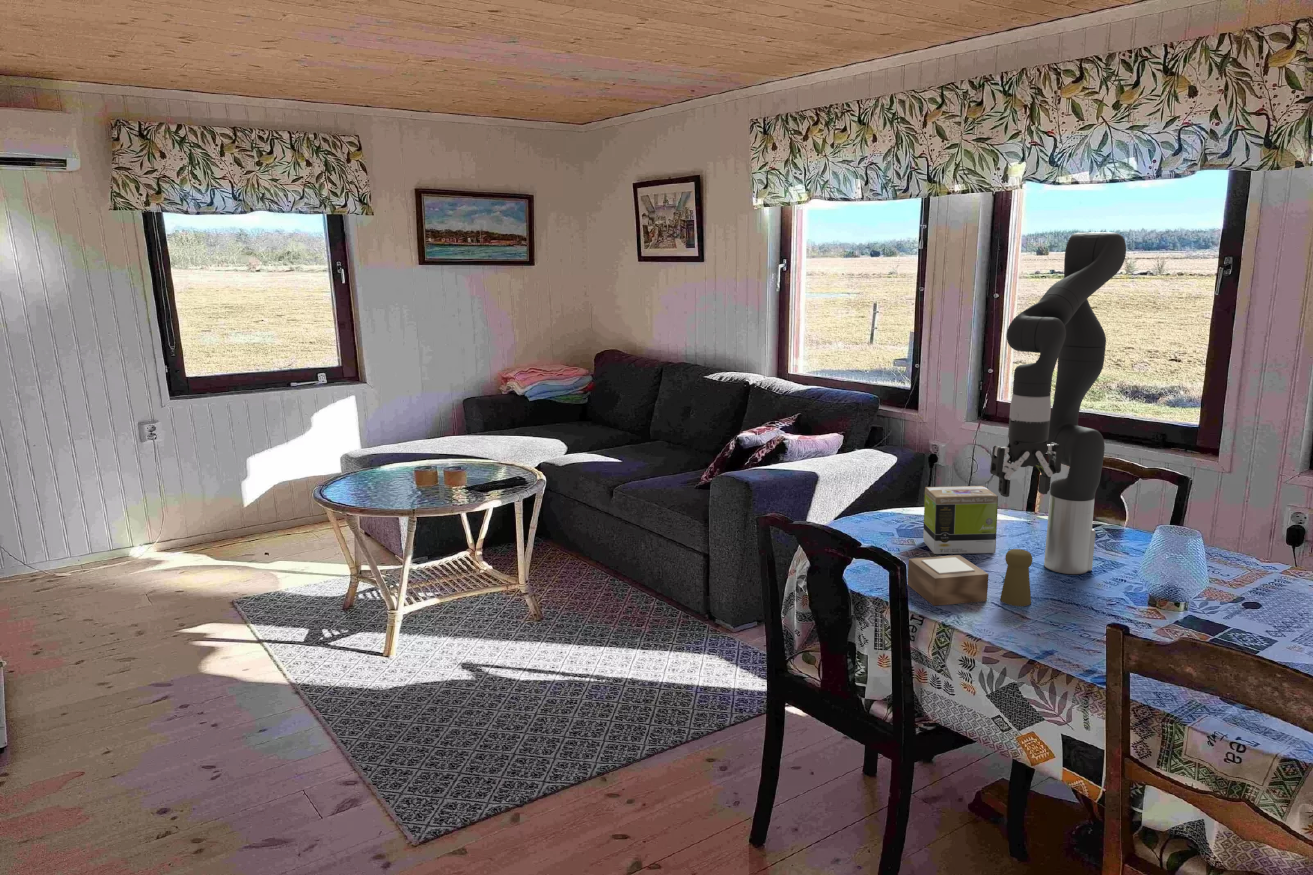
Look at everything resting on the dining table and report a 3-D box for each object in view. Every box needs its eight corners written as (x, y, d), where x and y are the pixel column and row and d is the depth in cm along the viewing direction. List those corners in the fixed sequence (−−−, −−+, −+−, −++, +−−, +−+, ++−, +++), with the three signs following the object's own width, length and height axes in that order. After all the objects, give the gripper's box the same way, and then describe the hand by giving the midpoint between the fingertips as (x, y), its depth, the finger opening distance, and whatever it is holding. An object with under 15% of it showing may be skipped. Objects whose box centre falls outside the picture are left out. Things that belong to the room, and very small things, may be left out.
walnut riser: (957, 580, 195) (959, 553, 194) (986, 601, 184) (988, 572, 182) (907, 584, 193) (908, 557, 192) (933, 605, 182) (935, 577, 180)
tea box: (981, 541, 221) (985, 484, 218) (995, 554, 211) (1000, 495, 208) (921, 541, 221) (924, 485, 218) (933, 555, 212) (936, 496, 208)
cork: (1034, 607, 180) (1038, 556, 178) (1002, 605, 181) (1006, 554, 179) (1027, 596, 186) (1031, 546, 184) (997, 594, 187) (1001, 545, 185)
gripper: (1050, 411, 180) (1044, 488, 184) (986, 415, 178) (981, 492, 181) (1073, 418, 173) (1066, 497, 176) (1007, 421, 171) (1001, 501, 174)
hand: (1023, 494), depth 179 cm, fingers open, 8 cm apart
